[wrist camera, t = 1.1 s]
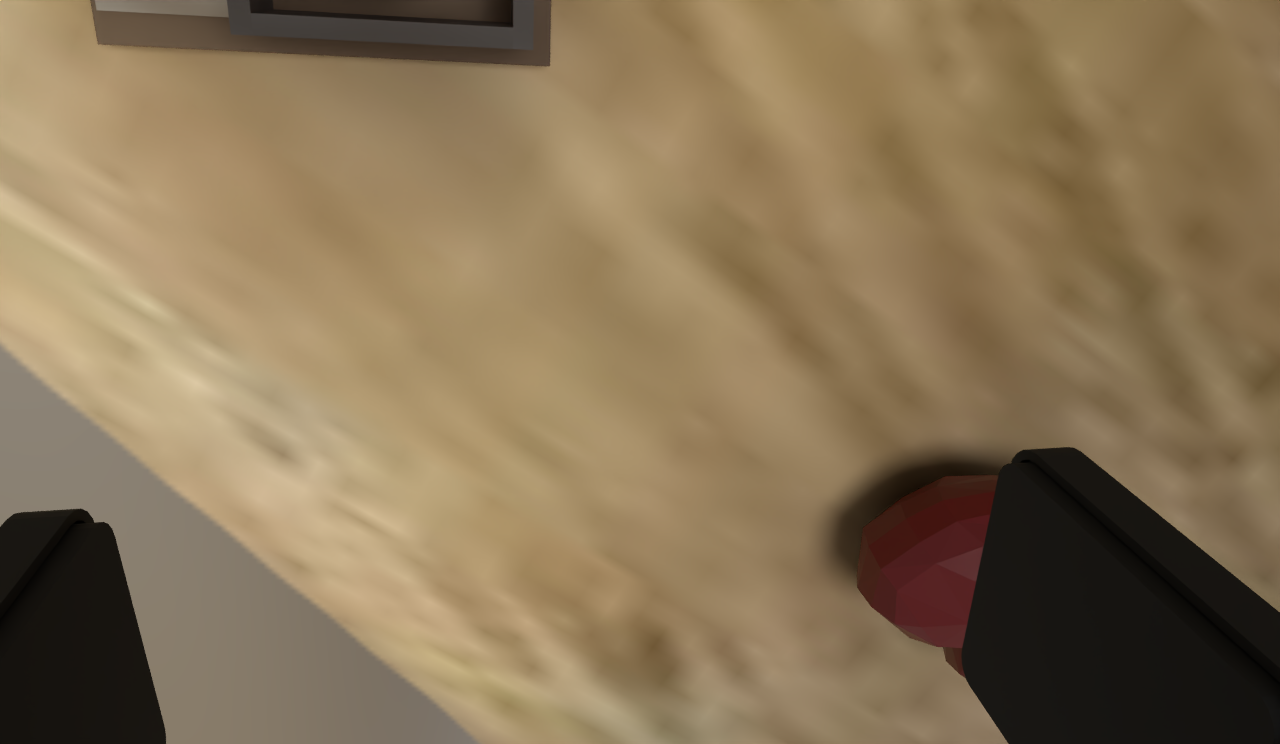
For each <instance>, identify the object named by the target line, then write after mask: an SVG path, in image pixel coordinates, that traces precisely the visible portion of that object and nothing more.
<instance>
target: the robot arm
mask: <svg viewBox="0 0 1280 744" xmlns="http://www.w3.org/2000/svg"><path fill="white" fill-rule="evenodd" d="M961 658H962V667H963V671H964V674H965V677H966V680H967V682H968V684H969V685H970V687H971V689H972V690H973V692H974V693H975V694H976V696H977V697H978V699H979V700H980V702H981V703H982V705H983V706H984V708H985V709H986V711H987V712H988V714H989V715H990V717H991V718H992V720H993V721H994V723H995V724H996V726H997V727H998V729H999V730H1000V732H1001V733H1002V735H1003V736H1004V737H1005V739H1006V740H1007V742H1008V743H1009V744H1280V612H1278V611H1277V610H1276V609H1275V608H1273V607H1272V606H1271V605H1270V604H1268V603H1267V602H1266V601H1265V600H1264V599H1262V598H1261V597H1260V596H1259V595H1257V594H1256V593H1255V592H1254V591H1252V590H1251V589H1250V588H1249V587H1247V586H1246V585H1245V584H1244V583H1243V582H1241V581H1240V580H1239V579H1238V578H1236V577H1235V576H1234V575H1233V574H1231V573H1230V572H1229V571H1228V570H1226V569H1225V568H1224V567H1223V566H1222V565H1220V564H1219V563H1218V562H1217V561H1215V560H1214V559H1213V558H1212V557H1210V556H1209V555H1208V554H1207V553H1205V552H1204V551H1203V550H1202V549H1201V548H1199V547H1198V546H1197V545H1196V544H1194V543H1193V542H1192V541H1191V540H1189V539H1188V538H1187V537H1186V536H1184V535H1183V534H1182V533H1181V532H1180V531H1178V530H1177V529H1176V528H1175V527H1173V526H1172V525H1171V524H1170V523H1168V522H1167V521H1166V520H1165V519H1163V518H1162V517H1161V516H1160V515H1159V514H1157V513H1156V512H1155V511H1154V510H1152V509H1151V508H1150V507H1149V506H1147V505H1146V504H1145V503H1144V502H1142V501H1141V500H1140V499H1139V498H1138V497H1136V496H1135V495H1134V494H1133V493H1131V492H1130V491H1129V490H1128V489H1126V488H1125V487H1124V486H1123V485H1121V484H1120V483H1119V482H1118V481H1117V480H1115V479H1114V478H1113V477H1112V476H1110V475H1109V474H1108V473H1107V472H1105V471H1104V470H1103V469H1102V468H1100V467H1099V466H1098V465H1097V464H1096V463H1094V462H1093V461H1092V460H1091V459H1089V458H1088V457H1087V456H1086V455H1084V454H1083V453H1082V452H1081V451H1079V450H1077V449H1075V448H1070V447H1063V448H1047V449H1031V450H1022V451H1020V452H1019V453H1017V454H1016V456H1015V457H1014V458H1013V460H1012V463H1011V464H1007V465H1005V466H1003V468H1002V469H1001V470H1000V473H999V476H998V480H997V484H996V489H995V494H994V499H993V504H992V508H991V513H990V518H989V523H988V527H987V532H986V537H985V542H984V546H983V551H982V556H981V561H980V565H979V570H978V575H977V580H976V584H975V589H974V594H973V599H972V603H971V608H970V613H969V618H968V623H967V627H966V632H965V637H964V642H963V646H962V654H961ZM0 744H166V733H165V727H164V723H163V719H162V715H161V711H160V707H159V703H158V700H157V696H156V692H155V688H154V685H153V681H152V677H151V673H150V669H149V665H148V661H147V658H146V654H145V650H144V646H143V642H142V638H141V635H140V631H139V627H138V623H137V619H136V615H135V612H134V608H133V604H132V600H131V596H130V592H129V589H128V585H127V581H126V577H125V573H124V570H123V566H122V562H121V558H120V554H119V551H118V546H117V543H116V539H115V536H114V533H113V530H112V528H111V527H110V526H109V524H107V523H105V522H98V523H94V520H93V518H92V517H91V516H90V514H89V513H88V512H87V511H85V510H83V509H70V510H53V511H37V512H23V513H22V512H21V513H16V514H13V515H12V516H11V517H10V518H8V519H7V520H6V521H5V522H4V523H3V525H2V526H1V527H0Z"/></svg>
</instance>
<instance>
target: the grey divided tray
mask: <svg viewBox="0 0 1280 744" xmlns="http://www.w3.org/2000/svg"><path fill="white" fill-rule="evenodd" d="M91 6H92V12H93V18H94V24H95V30H96V35H97V41H98V44H102V45H123V46H143V47H164V48H185V49H205V50H226V51H246V52H267V53H287V54H308V55H328V56H349V57H370V58H390V59H411V60H431V61H452V62H472V63H493V64H513V65H534V66H550V29H551V0H91Z"/></svg>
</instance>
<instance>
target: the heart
mask: <svg viewBox="0 0 1280 744" xmlns="http://www.w3.org/2000/svg"><path fill="white" fill-rule="evenodd" d="M997 480H998V475H971V476H944V477H942V478H940V479H938V480H936V481H934V482H932V483H930V484H928V485H926V486H924V487H922V488H920V489H918V490H916V491H914V492H912V493H910V494H908V495H906V496H904V497H902V498H901V499H900V500H898V501H897V502H896V503H895V504H893V505H892V506H891V507H889V508H888V509H887V510H885V511H884V512H883V513H882V514H880V515H879V516H878V517H876V518H875V519H874V520H872V521H871V522H870V523H869V524H867V525H866V526H865V527H863V532H862V539H861V547H860V554H859V562H858V569H857V588H858V589H859V591H860V592H861V593H862V595H863V596H864V597H865V599H866V600H867V602H868V603H869V604H870V606H871V607H872V608H874V609H875V610H876V611H877V612H878V613H880V614H881V615H882V616H883V617H885V618H886V619H887V620H888V621H890V622H891V623H892V624H893V625H894V626H896V627H897V628H898V629H899V630H901V631H902V632H903V633H904V634H906V635H907V636H908V637H909V638H912V639H915V640H918V641H921V642H924V643H927V644H930V645H933V646H936V647H943V649H944V654H945V659H946V661H947V662H948V663H949V664H950V665H951V666H952V667H953V668H954V669H955V670H956V671H957V672H958V673H959V674H960V675H962V676H963V677H965V674H964V671H963V667H962V658H961V654H962V646H963V642H964V637H965V632H966V627H967V623H968V618H969V613H970V608H971V603H972V599H973V594H974V589H975V584H976V580H977V575H978V570H979V565H980V561H981V556H982V551H983V546H984V542H985V537H986V532H987V527H988V523H989V518H990V513H991V508H992V504H993V499H994V494H995V489H996V484H997ZM965 678H966V677H965Z"/></svg>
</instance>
